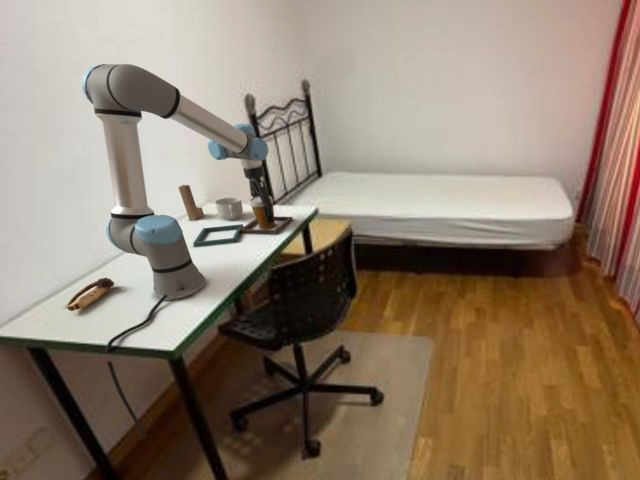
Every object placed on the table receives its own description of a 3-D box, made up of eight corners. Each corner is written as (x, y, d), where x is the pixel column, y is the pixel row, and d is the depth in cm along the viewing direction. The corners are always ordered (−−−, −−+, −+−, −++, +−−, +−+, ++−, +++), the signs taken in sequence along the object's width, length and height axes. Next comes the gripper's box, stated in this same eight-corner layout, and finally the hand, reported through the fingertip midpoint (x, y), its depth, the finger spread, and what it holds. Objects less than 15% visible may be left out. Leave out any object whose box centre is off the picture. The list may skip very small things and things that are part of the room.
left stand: (236, 242, 178) (235, 238, 177) (194, 246, 176) (193, 243, 175) (243, 227, 191) (242, 224, 190) (204, 231, 189) (203, 228, 189)
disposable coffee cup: (282, 222, 194) (276, 194, 188) (274, 230, 186) (267, 202, 180) (261, 222, 195) (254, 195, 189) (252, 231, 187) (244, 202, 181)
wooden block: (195, 220, 201) (184, 187, 193) (189, 220, 202) (177, 187, 194) (204, 215, 207) (193, 182, 199) (198, 215, 207) (187, 182, 199)
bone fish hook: (98, 286, 152) (54, 314, 137) (92, 274, 149) (46, 301, 134) (122, 286, 150) (80, 314, 135) (116, 274, 148) (73, 301, 133)
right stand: (276, 234, 183) (275, 231, 182) (240, 233, 186) (239, 229, 185) (293, 220, 196) (292, 216, 195) (259, 219, 199) (258, 216, 198)
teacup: (220, 215, 205) (215, 198, 201) (245, 211, 208) (241, 194, 204) (219, 225, 194) (213, 207, 190) (245, 222, 197) (240, 204, 192)
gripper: (272, 170, 170) (284, 224, 181) (252, 158, 188) (265, 208, 199) (252, 174, 167) (266, 228, 178) (234, 162, 184) (248, 212, 196)
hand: (265, 218), depth 189 cm, fingers open, 13 cm apart
